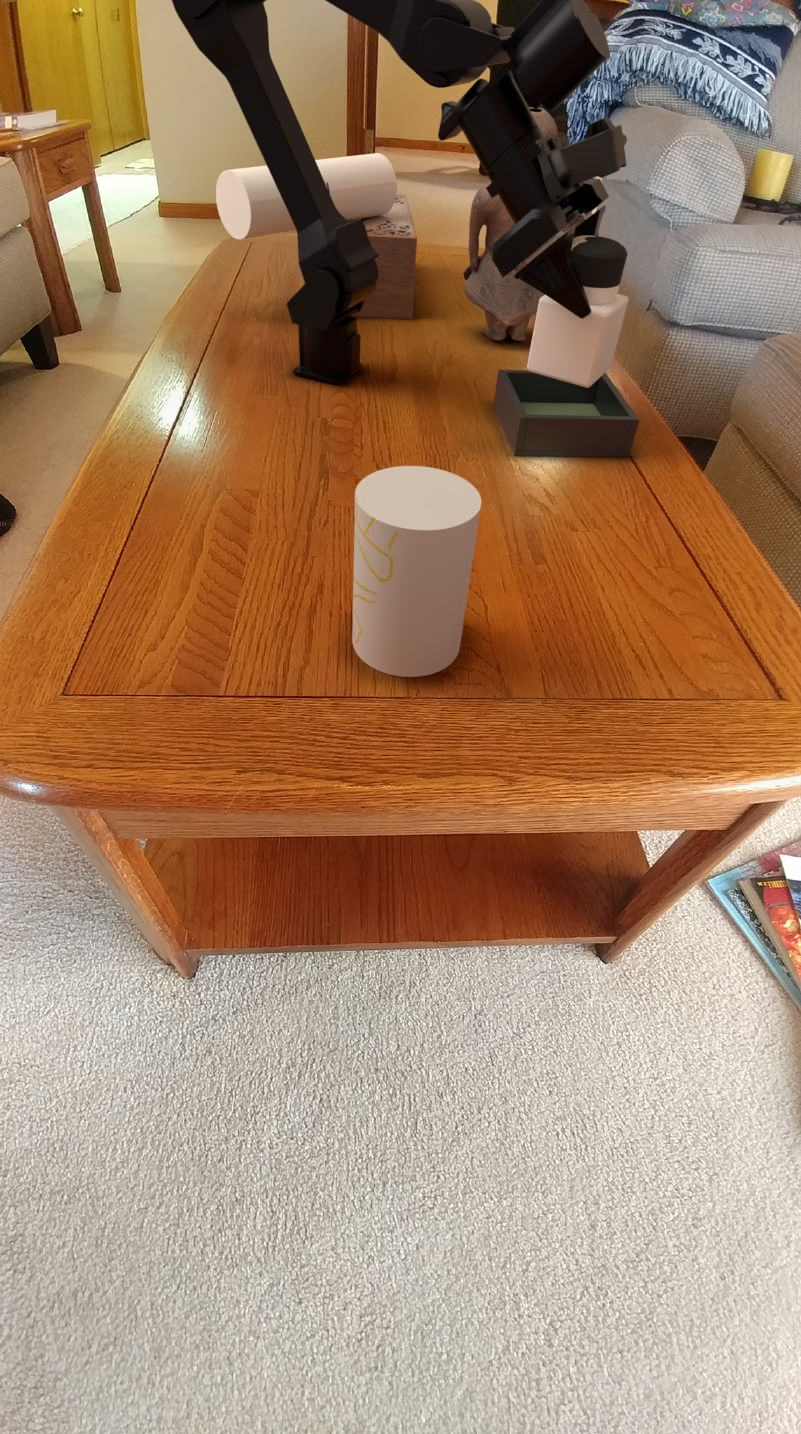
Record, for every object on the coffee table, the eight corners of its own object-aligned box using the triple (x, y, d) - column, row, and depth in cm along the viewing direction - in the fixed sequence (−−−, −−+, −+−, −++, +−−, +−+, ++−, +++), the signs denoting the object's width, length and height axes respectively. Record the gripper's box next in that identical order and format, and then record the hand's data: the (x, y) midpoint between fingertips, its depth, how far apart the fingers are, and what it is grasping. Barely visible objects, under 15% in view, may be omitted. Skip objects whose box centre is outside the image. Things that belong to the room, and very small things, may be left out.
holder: (514, 455, 79) (520, 417, 76) (493, 405, 88) (498, 369, 85) (628, 457, 81) (639, 419, 78) (596, 407, 90) (605, 372, 87)
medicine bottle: (611, 368, 81) (645, 240, 73) (588, 389, 77) (622, 255, 68) (550, 351, 83) (575, 225, 75) (524, 371, 79) (549, 239, 70)
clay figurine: (540, 326, 109) (579, 105, 91) (558, 351, 102) (604, 117, 84) (452, 324, 107) (475, 98, 89) (464, 349, 100) (491, 111, 83)
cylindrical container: (256, 236, 93) (400, 212, 106) (241, 165, 89) (392, 149, 102) (225, 241, 97) (366, 217, 110) (209, 174, 93) (358, 157, 106)
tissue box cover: (412, 318, 108) (417, 238, 101) (310, 314, 107) (308, 232, 99) (402, 266, 126) (405, 194, 119) (315, 261, 125) (313, 189, 117)
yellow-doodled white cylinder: (350, 607, 59) (352, 464, 51) (452, 607, 60) (471, 466, 52) (354, 677, 54) (357, 529, 45) (467, 676, 54) (491, 530, 46)
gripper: (554, 87, 58) (651, 275, 63) (613, 72, 70) (690, 230, 75) (449, 191, 66) (543, 351, 71) (518, 161, 78) (594, 300, 83)
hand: (596, 305), depth 75 cm, fingers closed on medicine bottle, 7 cm apart
